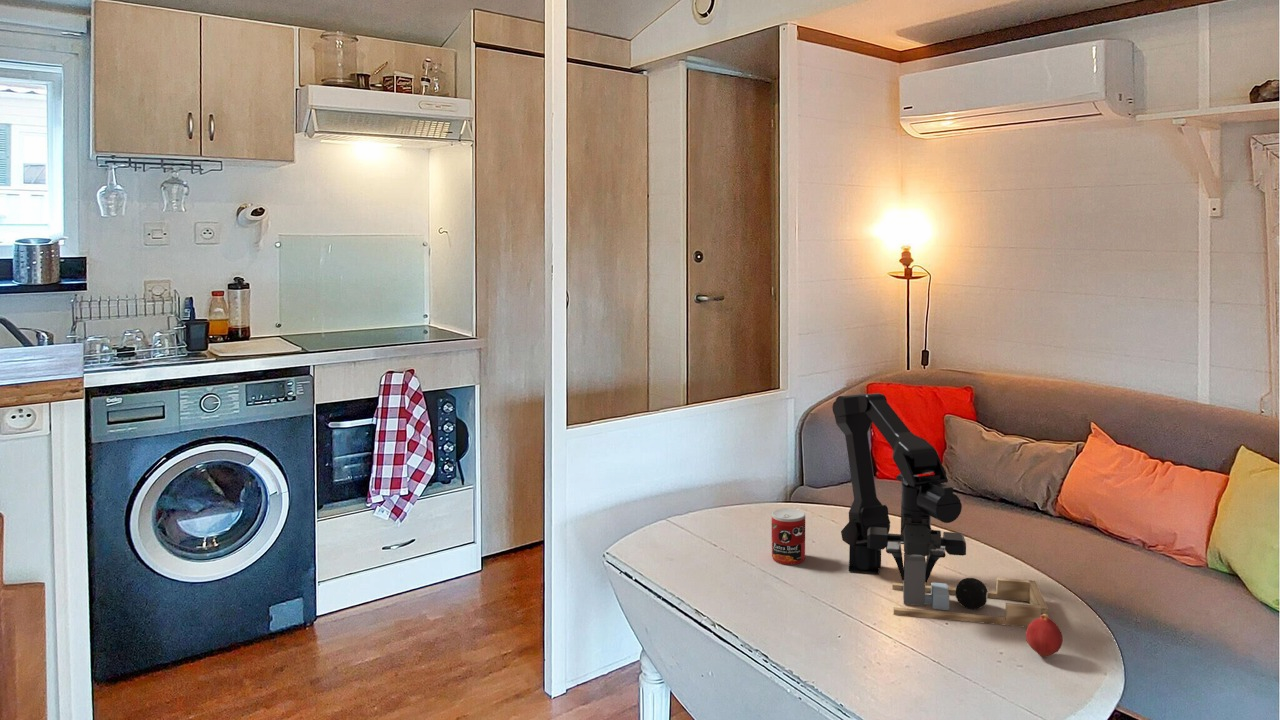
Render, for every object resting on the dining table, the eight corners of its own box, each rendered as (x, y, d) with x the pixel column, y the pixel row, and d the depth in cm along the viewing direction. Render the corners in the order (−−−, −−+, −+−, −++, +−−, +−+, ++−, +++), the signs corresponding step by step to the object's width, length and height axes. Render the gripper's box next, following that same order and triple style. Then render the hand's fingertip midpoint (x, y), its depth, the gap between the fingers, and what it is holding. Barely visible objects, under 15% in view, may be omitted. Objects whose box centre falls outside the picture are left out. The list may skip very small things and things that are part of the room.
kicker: (903, 606, 166) (904, 561, 165) (902, 593, 172) (903, 551, 171) (948, 610, 164) (950, 565, 163) (946, 597, 170) (947, 554, 169)
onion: (1028, 645, 150) (1030, 603, 149) (1063, 653, 147) (1066, 611, 146) (1022, 659, 145) (1024, 616, 144) (1058, 668, 142) (1061, 624, 141)
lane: (893, 614, 164) (893, 609, 163) (892, 587, 176) (892, 582, 176) (1005, 625, 158) (1006, 620, 158) (996, 596, 171) (996, 591, 171)
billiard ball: (984, 616, 162) (985, 587, 161) (952, 610, 165) (953, 581, 164) (989, 605, 167) (990, 576, 166) (958, 598, 170) (959, 571, 169)
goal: (1005, 625, 158) (1006, 605, 157) (996, 596, 171) (996, 577, 170) (1047, 629, 156) (1048, 609, 156) (1034, 599, 169) (1035, 580, 168)
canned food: (768, 563, 191) (768, 517, 190) (775, 550, 198) (775, 506, 197) (801, 567, 188) (801, 520, 187) (808, 554, 196) (808, 509, 194)
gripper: (867, 516, 161) (866, 593, 163) (970, 523, 156) (967, 602, 158) (868, 499, 171) (866, 571, 174) (964, 505, 166) (961, 579, 169)
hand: (914, 581), depth 168 cm, fingers closed on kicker, 4 cm apart
